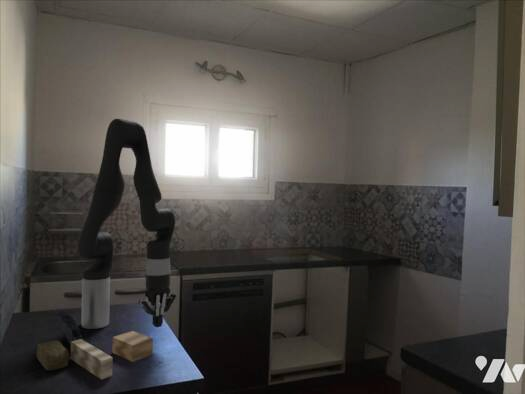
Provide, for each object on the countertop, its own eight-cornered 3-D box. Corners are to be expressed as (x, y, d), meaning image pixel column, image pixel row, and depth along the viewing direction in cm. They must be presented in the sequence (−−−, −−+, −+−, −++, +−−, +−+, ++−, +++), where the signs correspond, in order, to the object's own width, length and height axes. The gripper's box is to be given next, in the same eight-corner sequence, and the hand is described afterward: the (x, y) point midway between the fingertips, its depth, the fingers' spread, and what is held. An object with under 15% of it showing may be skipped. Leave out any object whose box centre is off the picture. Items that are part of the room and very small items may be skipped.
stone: (93, 344, 128) (93, 313, 128) (77, 351, 123) (78, 319, 122) (62, 337, 134) (62, 307, 133) (45, 343, 128) (46, 312, 128)
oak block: (112, 353, 123) (112, 337, 123) (132, 346, 128) (132, 330, 128) (132, 362, 117) (133, 345, 117) (152, 355, 122) (152, 338, 122)
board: (70, 358, 118) (70, 341, 117) (80, 355, 120) (81, 339, 120) (101, 379, 106) (101, 360, 106) (112, 375, 108) (112, 357, 108)
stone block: (46, 373, 108) (47, 355, 108) (35, 359, 117) (35, 342, 117) (69, 367, 112) (70, 350, 112) (57, 354, 121) (57, 337, 121)
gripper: (168, 267, 136) (167, 319, 136) (132, 273, 126) (132, 328, 126) (182, 270, 131) (181, 324, 131) (146, 277, 121) (146, 334, 121)
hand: (157, 326), depth 129 cm, fingers closed
